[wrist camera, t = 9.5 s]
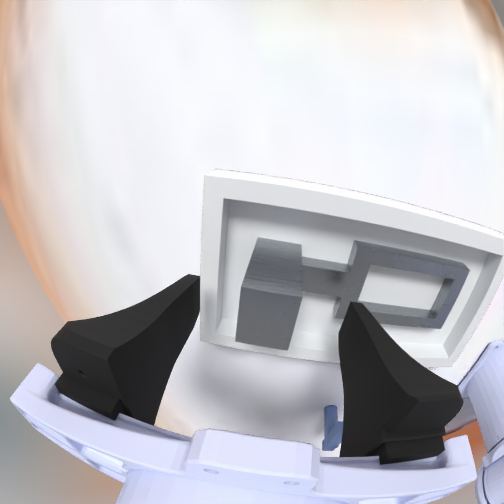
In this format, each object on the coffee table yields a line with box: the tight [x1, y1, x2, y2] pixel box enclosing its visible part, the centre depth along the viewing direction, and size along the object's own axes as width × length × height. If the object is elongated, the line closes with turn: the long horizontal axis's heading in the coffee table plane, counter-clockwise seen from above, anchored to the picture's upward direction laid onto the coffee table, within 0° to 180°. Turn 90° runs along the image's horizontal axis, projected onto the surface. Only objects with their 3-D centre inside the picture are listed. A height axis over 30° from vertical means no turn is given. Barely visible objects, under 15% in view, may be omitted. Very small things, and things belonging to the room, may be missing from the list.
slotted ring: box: [235, 237, 470, 351], centre depth 13 cm, size 13×5×5 cm, turn 83°
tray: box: [200, 169, 504, 367], centre depth 15 cm, size 19×10×2 cm, turn 83°
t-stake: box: [322, 406, 343, 451], centre depth 20 cm, size 1×4×4 cm, turn 173°
